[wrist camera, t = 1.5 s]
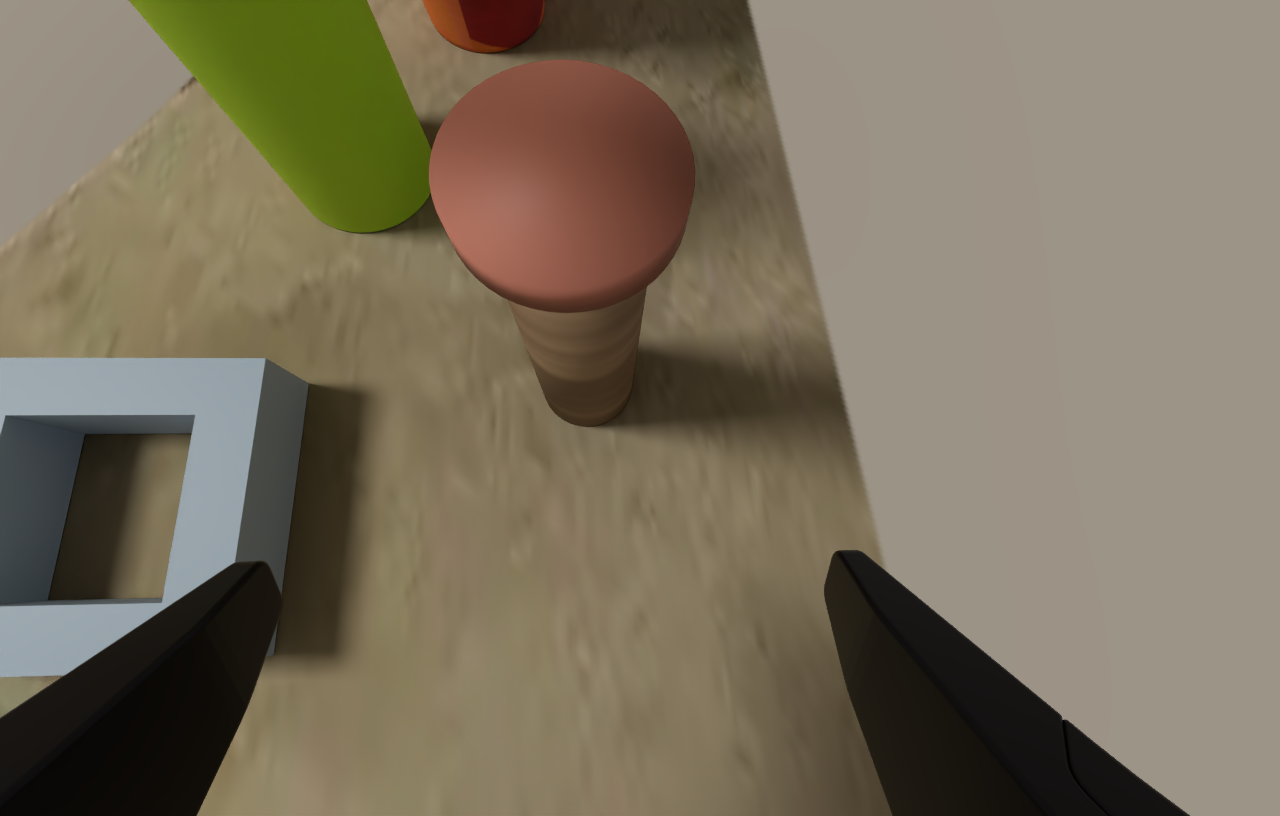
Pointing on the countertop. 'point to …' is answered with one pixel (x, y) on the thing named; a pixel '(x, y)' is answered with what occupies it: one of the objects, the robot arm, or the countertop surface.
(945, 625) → the robot arm
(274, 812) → the countertop surface
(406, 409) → the countertop surface
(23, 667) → the hole block
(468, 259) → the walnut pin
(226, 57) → the soap dispenser
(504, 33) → the paper cup
